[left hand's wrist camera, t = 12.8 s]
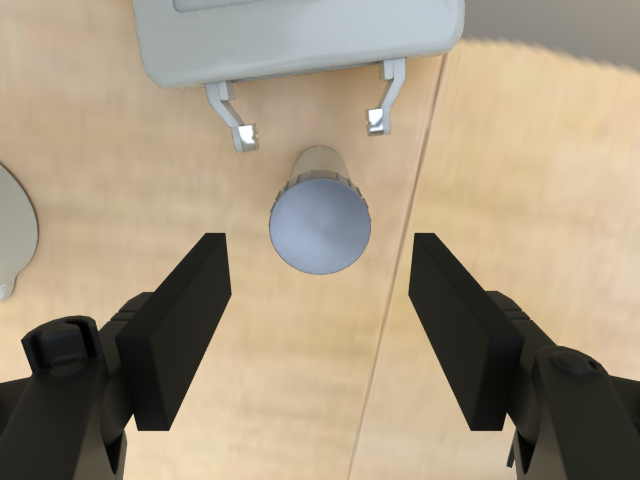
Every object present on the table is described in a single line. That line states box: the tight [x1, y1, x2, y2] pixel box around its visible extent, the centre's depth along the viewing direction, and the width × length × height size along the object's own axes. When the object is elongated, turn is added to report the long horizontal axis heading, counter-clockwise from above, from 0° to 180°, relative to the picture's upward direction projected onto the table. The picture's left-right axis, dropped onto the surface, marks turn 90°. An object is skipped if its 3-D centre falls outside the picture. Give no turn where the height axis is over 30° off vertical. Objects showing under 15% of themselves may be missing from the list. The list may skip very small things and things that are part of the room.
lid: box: [269, 169, 371, 275], centre depth 19 cm, size 5×5×2 cm
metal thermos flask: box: [289, 146, 352, 182], centre depth 26 cm, size 5×5×16 cm
